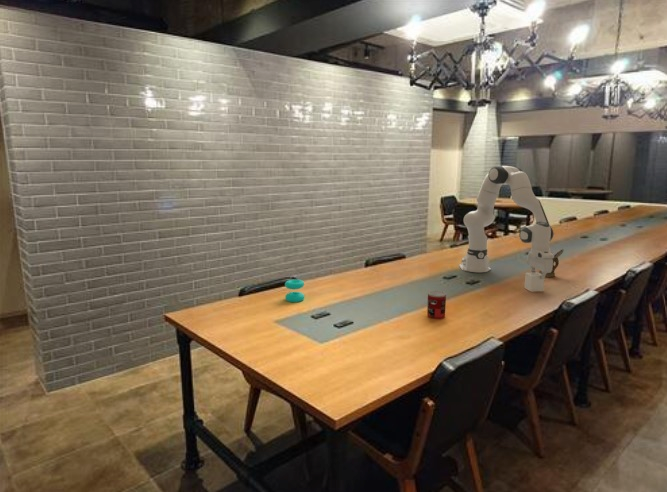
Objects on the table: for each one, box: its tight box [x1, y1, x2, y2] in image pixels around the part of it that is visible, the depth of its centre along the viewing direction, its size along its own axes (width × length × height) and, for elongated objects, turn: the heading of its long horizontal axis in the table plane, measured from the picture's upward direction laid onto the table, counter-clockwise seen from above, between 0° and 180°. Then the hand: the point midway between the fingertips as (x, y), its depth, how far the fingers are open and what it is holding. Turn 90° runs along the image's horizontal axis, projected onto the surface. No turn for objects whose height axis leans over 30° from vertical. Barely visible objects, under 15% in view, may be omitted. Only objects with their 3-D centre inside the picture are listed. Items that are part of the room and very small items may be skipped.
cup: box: [524, 271, 545, 293], centre depth 241 cm, size 7×7×9 cm
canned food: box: [426, 290, 447, 320], centre depth 201 cm, size 8×8×11 cm
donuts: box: [284, 278, 306, 303], centre depth 228 cm, size 10×10×10 cm
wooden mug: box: [538, 248, 564, 278], centre depth 267 cm, size 9×14×18 cm, turn 35°
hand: (537, 276), depth 241 cm, fingers open, 8 cm apart
